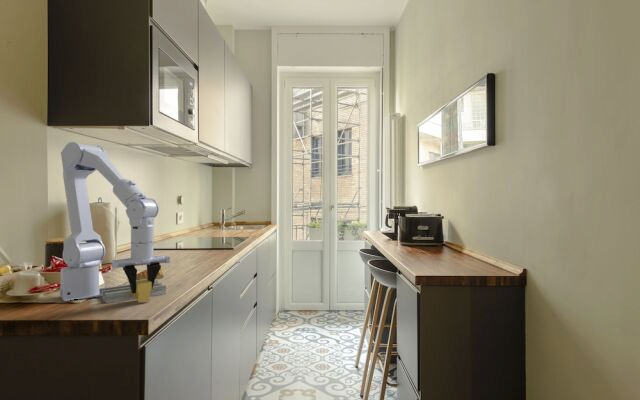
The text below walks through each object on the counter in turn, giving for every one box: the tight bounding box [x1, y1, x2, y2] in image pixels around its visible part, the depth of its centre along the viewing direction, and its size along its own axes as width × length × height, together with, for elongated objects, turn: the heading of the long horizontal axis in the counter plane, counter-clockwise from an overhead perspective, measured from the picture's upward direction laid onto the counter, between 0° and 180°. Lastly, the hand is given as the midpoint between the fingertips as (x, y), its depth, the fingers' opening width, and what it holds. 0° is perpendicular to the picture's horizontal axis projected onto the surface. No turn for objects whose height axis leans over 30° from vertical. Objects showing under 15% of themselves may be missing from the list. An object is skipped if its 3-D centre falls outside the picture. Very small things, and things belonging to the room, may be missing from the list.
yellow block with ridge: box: [133, 279, 152, 303], centre depth 105 cm, size 4×5×5 cm
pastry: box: [136, 268, 165, 280], centre depth 134 cm, size 9×7×4 cm
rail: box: [99, 280, 167, 304], centre depth 111 cm, size 16×8×2 cm, turn 131°
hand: (141, 291), depth 105 cm, fingers closed on yellow block with ridge, 4 cm apart
